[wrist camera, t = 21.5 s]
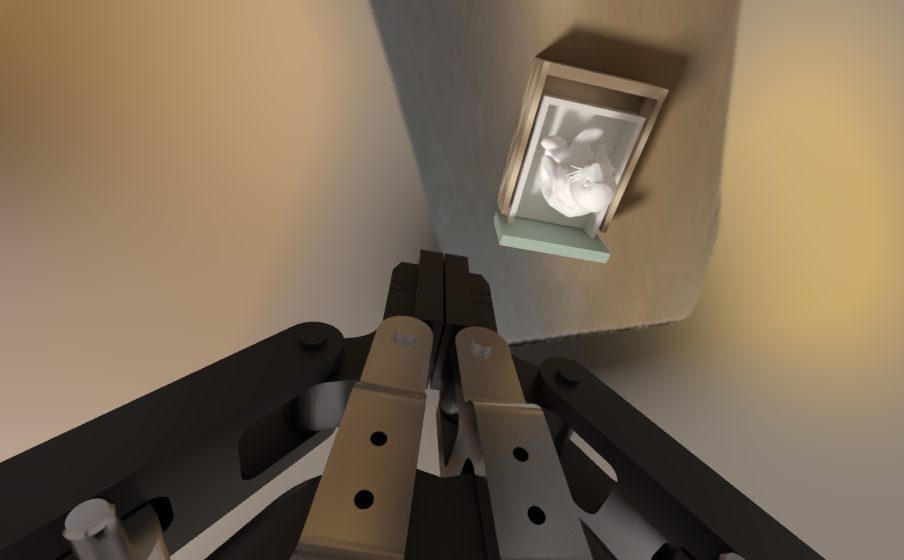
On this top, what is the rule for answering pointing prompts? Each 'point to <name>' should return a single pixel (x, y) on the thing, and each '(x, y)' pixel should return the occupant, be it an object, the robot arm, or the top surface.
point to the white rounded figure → (577, 174)
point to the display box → (589, 89)
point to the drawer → (528, 209)
